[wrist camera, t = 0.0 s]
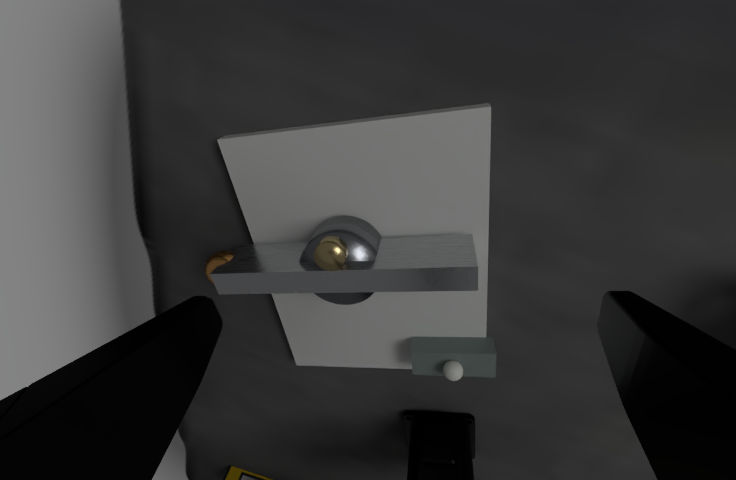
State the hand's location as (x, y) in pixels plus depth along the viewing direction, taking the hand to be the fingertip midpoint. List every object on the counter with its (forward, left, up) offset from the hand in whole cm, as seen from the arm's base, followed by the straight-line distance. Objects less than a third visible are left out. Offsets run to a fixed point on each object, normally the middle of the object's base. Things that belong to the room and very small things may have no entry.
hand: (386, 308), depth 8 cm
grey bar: (-6, +6, -13) cm, 16 cm away
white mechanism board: (-8, +4, -15) cm, 17 cm away
